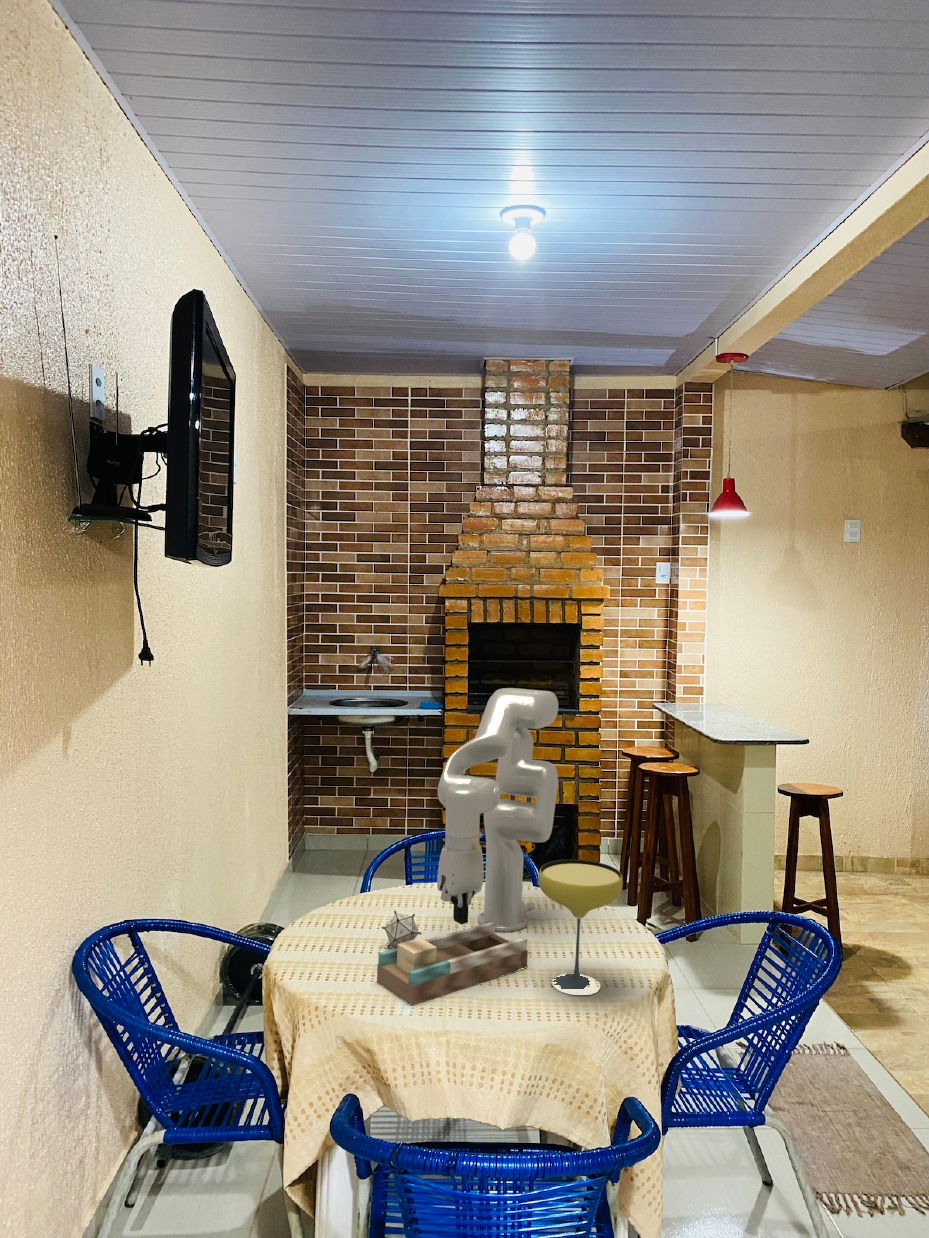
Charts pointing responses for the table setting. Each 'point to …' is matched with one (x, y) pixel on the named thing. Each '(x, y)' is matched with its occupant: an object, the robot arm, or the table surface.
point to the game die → (401, 929)
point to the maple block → (415, 955)
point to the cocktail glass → (579, 897)
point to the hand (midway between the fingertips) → (460, 921)
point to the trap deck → (454, 964)
